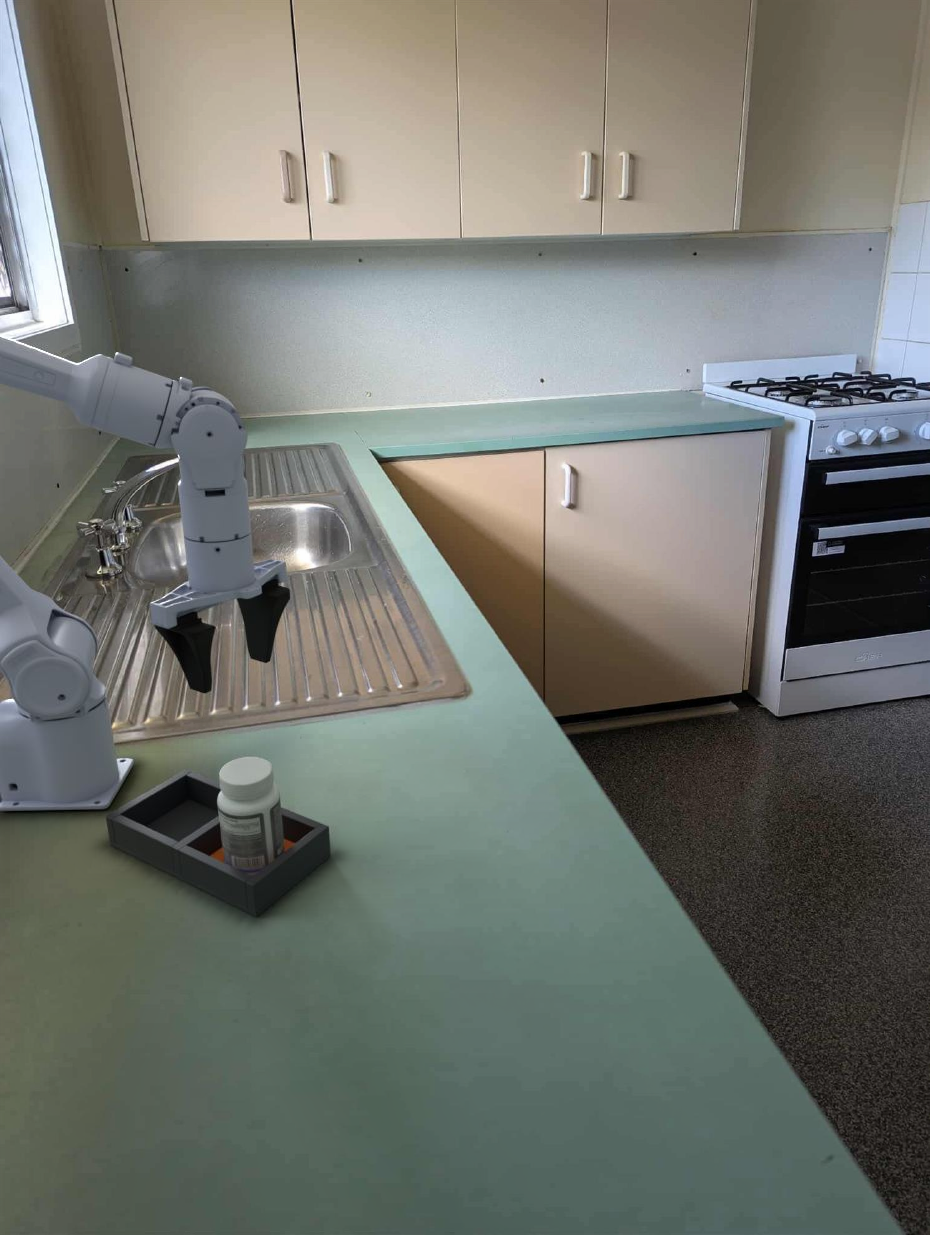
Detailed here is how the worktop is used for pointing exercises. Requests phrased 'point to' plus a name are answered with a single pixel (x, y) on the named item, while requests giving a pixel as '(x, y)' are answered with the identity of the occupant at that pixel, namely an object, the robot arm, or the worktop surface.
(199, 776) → the tray
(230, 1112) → the worktop surface
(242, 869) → the pill bottle
